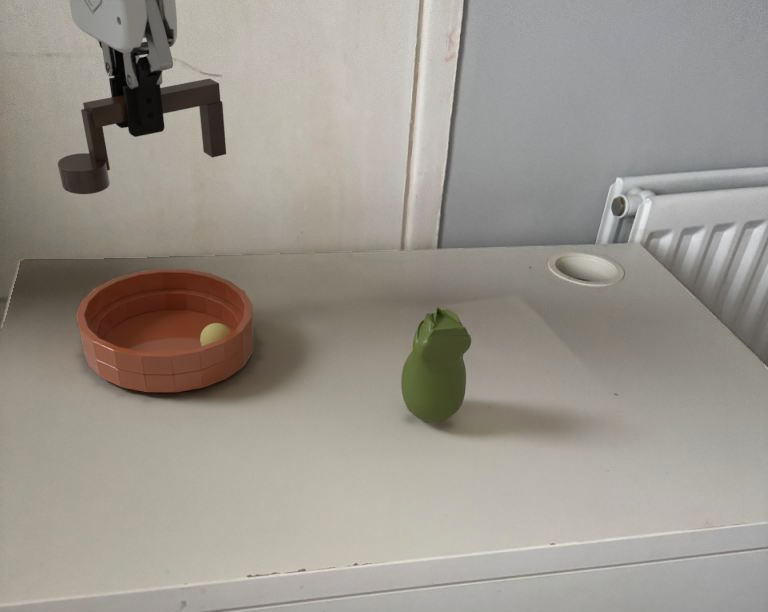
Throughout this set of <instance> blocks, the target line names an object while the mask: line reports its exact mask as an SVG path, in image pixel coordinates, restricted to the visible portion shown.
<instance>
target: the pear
mask: <svg viewBox="0 0 768 612" xmlns="http://www.w3.org/2000/svg"><path fill="white" fill-rule="evenodd" d="M471 346H472V337H471V335H470V334H469V332H468V330H467V327H465V326H464V325H463V323H462V321H461V320H460V318H459V316H458V314H457V313H455V311H452V310H451V309H448V308H444V309H441V308H440V307H439V306H437V307H436V309H435V310H434V312H432V313H429V312H427V313H426V314H424V318H423V320H421V321H420V323H418V326H417V328H416V330H415V332H414V335H413V339H412V348H411V349H412V350H411V351H410V352H409V354H408V356H407V357H406V359H405V361H404V363H403V365H402V370H401V377H400V378H401V379H400V383H401V384H400V385H401V394H402V398H403V402H404V404H405V406H406V407H407V410H408V412H410V413H411V414H412V415H413V416H414V417H415V418H417V419H419V420H421V421H424V422H429V423H439V422H443V421H446V420H448V419H450V418H452V417H453V416H454V415H456V414H457V412H458V411H459V410H460V409H461V407H462V405H463V403H464V400H465V396H466V389H467V369H466V364H465V360H464V355H465V354H466V353H467V351H468V350H469V349H470V348H471Z"/></svg>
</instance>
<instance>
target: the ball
mask: <svg viewBox="0 0 768 612" xmlns="http://www.w3.org/2000/svg"><path fill="white" fill-rule="evenodd" d="M229 333H231V331H230V329H229V328H228V327H226V326H225V325H223V324H220V323H213V324H210V325H208V326H206V327H205V328H204V329H203V331H202V333H201V336H200V342H201V346H204V345H207V344H210V343H213V342H216V341H218V340H220V339H222V338H223V337H225V336H226V335H228V334H229Z"/></svg>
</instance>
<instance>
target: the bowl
mask: <svg viewBox="0 0 768 612" xmlns="http://www.w3.org/2000/svg"><path fill="white" fill-rule="evenodd" d="M253 308H254V307H253V304H252V301H251V300H250V298H249V296H248V295H247V293H246V291H245V290H243V288H241V287H240V286H238V285H237V284H235V283H234V282H232V281H231V280H228V279H226V278H224V277H221V276H219V275H217V274H213V273H211V272H206V271H201V270H200V271H199V270H196V269H195V270H194V269H189V268H188V269H186V268H156V269H149V270H140V271H135V272H132V273H128V274H124V275H121V276H118V277H113V278H111V279H110V280H108V281H106V282H104V283H103V284H100V285H99V286H96V287H95V288H93V289H92V290H91V291H90V292H89V293H88V294H87V295H85V297H84V298H83V299H82V300H81V301H80V304H79V307H78V309H77V312H76V314H75V315H76V316H75V317H76V321H77V322H76V323H77V326H78V327H77V328H78V331H79V336H80V340H81V344H82V346H81V347H82V350H83V354H84V356H85V360H86V361H85V362H86V364H87V365H88V366H89V367H90V369H91V370H92V371H94V372H95V373H96V374H97V376H98V377H100V379H102V380H105V381H107V382H109V383H111V384H114V385H116V386H118V387H121V388H124V389H129V390H134V391H138V392H139V391H140V392H144V393H180V392H186V391H192V390H197V389H202V388H203V389H204V388H207V387H209V386H211V385H214V384H216V383H219V382H222V381H224V380H227V379H228V378H230V377H231V376H233V375H235V373H237V372H238V371H239V370H241V369H242V368H243V367H245V365H246V364H247V362H248V360H249V359H250V357H251V356H252V354H253V353H254V347H255V346H254V343H255V334H254V333H255V331H254V311H253ZM213 323H220V324H223V325H225V326H226V327H228V328H229V329H230V331H231V333H229V334H228V335H226V336H225V337H223V338H222V339H220V340H218V341H216V342H213V343H210V344H207V345H204V346H201V342H200V336H201V333H202V331H203V329H204V328H205V327H206V326H208V325H210V324H213Z"/></svg>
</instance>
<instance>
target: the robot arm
mask: <svg viewBox="0 0 768 612" xmlns="http://www.w3.org/2000/svg"><path fill="white" fill-rule="evenodd" d="M68 1H69V8H70V14H71V18H72V21H73V22H74V24H75V25H76V27H77V28H79V29H80V30H81V31H82V32H84V33H85V34H86V35H88V36H90V37H92V38H93V39H95V40H97V41H98V44H99V47H100V48H101V51H102V56H103V63H104V69H105V72H106V75H107V76H108V77H109V78H108V82H109V88H110V96H111V97H116V96H121V95H124V101H125V108H126V115H127V121H126V122H121V123H117V124H115V125H116V126H117V127H118V128H121V129H125V128H128V129H127V130H128V133H129V135H131V136H132V137H134V138H138V137H142V136H143V137H144V136H148V135H151V134H157V133H161V132H163V131H164V130H165V117H164V114H163V108H162V99H161V89H160V88H161V85H163V71H166V70H170V69H172V68H173V67H174V61H173V56H172V52H171V47H173V46H174V45H175V43H176V42H177V40H178V39H177V38H178V19H177V18H178V17H177V6H176V5H177V3H176V0H68ZM144 39H145V40H146V41H143V40H144Z"/></svg>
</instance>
